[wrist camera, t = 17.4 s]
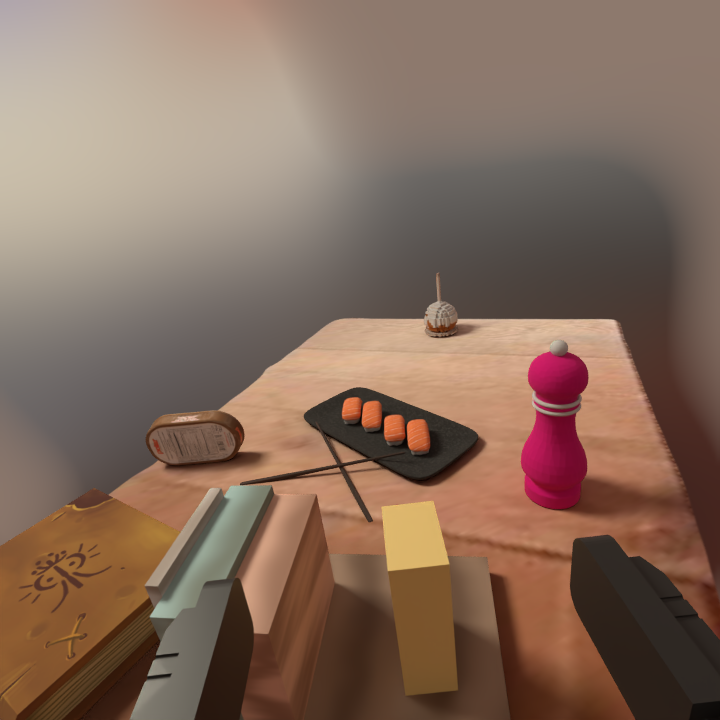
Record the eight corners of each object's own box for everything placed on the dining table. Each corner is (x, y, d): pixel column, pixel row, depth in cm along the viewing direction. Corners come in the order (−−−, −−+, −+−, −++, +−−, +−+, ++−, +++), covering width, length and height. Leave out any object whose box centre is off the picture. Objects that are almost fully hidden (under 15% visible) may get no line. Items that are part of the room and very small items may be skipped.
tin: (250, 450, 72) (237, 405, 68) (244, 462, 69) (231, 415, 65) (161, 459, 73) (145, 414, 70) (152, 471, 70) (135, 425, 67)
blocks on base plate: (170, 798, 31) (93, 660, 25) (265, 565, 49) (233, 454, 44) (525, 846, 27) (531, 692, 21) (487, 571, 45) (484, 448, 39)
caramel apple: (437, 325, 115) (434, 268, 109) (463, 330, 109) (461, 270, 104) (419, 335, 110) (414, 276, 104) (445, 340, 105) (441, 278, 99)
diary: (-60, 638, 47) (-88, 600, 45) (109, 521, 61) (93, 487, 59) (36, 768, 34) (3, 724, 32) (220, 583, 49) (206, 543, 46)
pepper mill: (538, 518, 51) (544, 358, 43) (510, 479, 57) (510, 335, 49) (598, 505, 51) (614, 346, 43) (563, 468, 58) (571, 324, 50)
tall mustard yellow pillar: (405, 695, 34) (387, 571, 29) (397, 622, 39) (381, 506, 34) (458, 690, 33) (449, 564, 28) (442, 617, 39) (433, 500, 34)
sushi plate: (487, 444, 66) (486, 422, 64) (329, 569, 48) (324, 543, 47) (359, 392, 87) (356, 375, 85) (217, 466, 69) (211, 446, 68)
